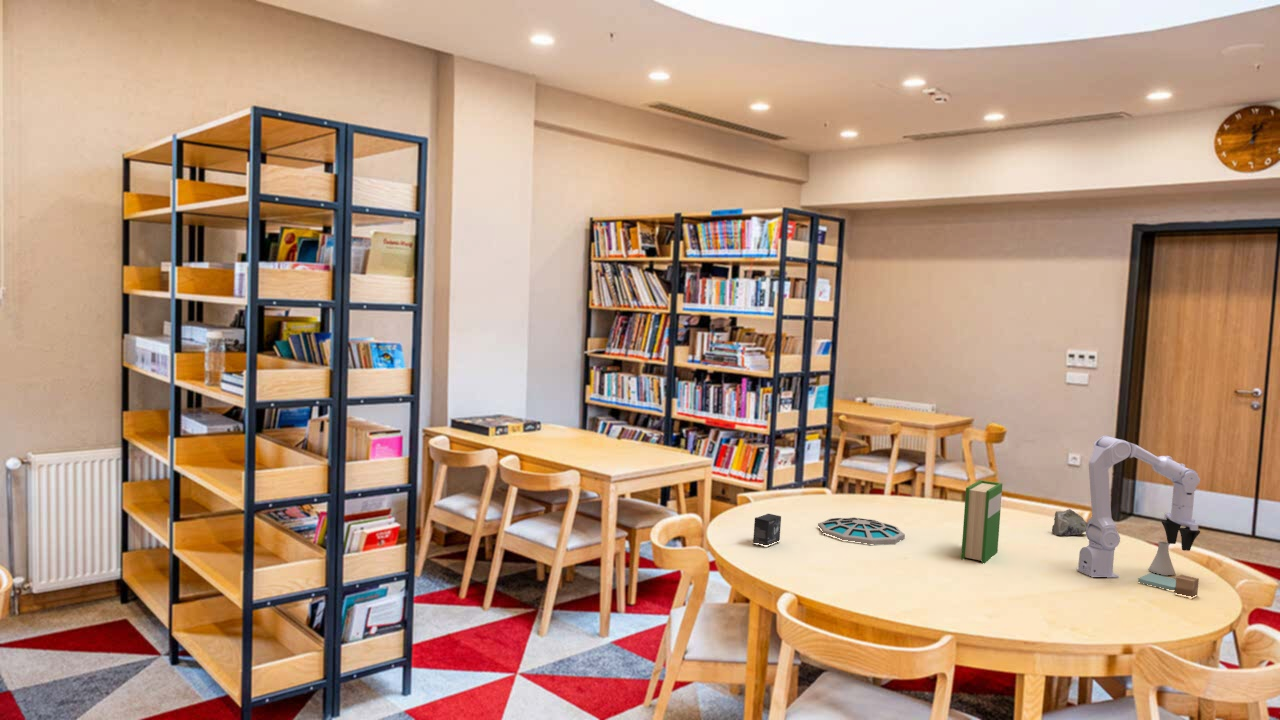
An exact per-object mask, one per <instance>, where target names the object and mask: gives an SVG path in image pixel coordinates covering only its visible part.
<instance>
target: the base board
mask: <svg viewBox="0 0 1280 720" xmlns="http://www.w3.org/2000/svg"><path fill="white" fill-rule="evenodd" d="M1138 582H1140V583H1144V584H1148V585H1152V586H1156V587H1161V588H1164V589H1169V590H1175V588H1176V578H1173V577H1170V576H1169V577H1168V576H1166V575H1159V574H1155V573H1152V572H1150V573H1149V572H1148V573H1147V574H1144V575H1143V576H1141V577H1139V578H1137V583H1138Z"/></svg>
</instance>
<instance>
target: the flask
mask: <svg viewBox="0 0 1280 720" xmlns="http://www.w3.org/2000/svg"><path fill="white" fill-rule="evenodd" d="M1157 544H1158V546H1157V547H1158V549H1157V552H1156V554H1155V556H1154V558H1153V560H1152V562H1151V563H1150V565H1149V568H1148V569H1147V570H1148V571H1149V572H1150V573H1152V572H1153V573H1152V574H1155V573H1157V574H1156V575H1159V574H1161V576H1168V575H1172V576H1174V575H1176V571H1175V568H1174V565H1173V563H1172V560H1171V557H1170V552H1169V547H1170V545H1171V544H1170V543H1168V542H1167V541H1163V540H1162V541H1157ZM1173 574H1174V575H1173Z"/></svg>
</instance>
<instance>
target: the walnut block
mask: <svg viewBox="0 0 1280 720" xmlns="http://www.w3.org/2000/svg"><path fill="white" fill-rule="evenodd" d="M1175 579H1176V588H1175V592H1174V594H1175V593H1177V594H1182V595H1186V596H1191V597H1193V596H1195V595H1197V596H1198V593H1199V592H1198V591H1199V581H1200V579H1199V578H1198V577H1195V576H1189V575H1186V574H1180V575H1178V576H1176V577H1175Z"/></svg>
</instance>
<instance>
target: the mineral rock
mask: <svg viewBox="0 0 1280 720" xmlns="http://www.w3.org/2000/svg"><path fill="white" fill-rule="evenodd" d="M1053 518H1054V519H1053V521H1054V523H1053V525H1052V528H1051V532H1052V533H1053V534H1054V536H1057V537H1058V536H1063V537H1064V536H1065V537H1067V536H1076V535H1082V534H1084V533H1086V528H1087V526H1088V521H1087V522H1086V520H1085V519H1084V518H1083V516H1081V515H1079V513H1076V512H1075V511H1074V510H1072V509H1071V508H1068V509H1066V510H1064V511H1061V510H1060V511H1059V510H1058V511H1055V513H1054V517H1053Z"/></svg>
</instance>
